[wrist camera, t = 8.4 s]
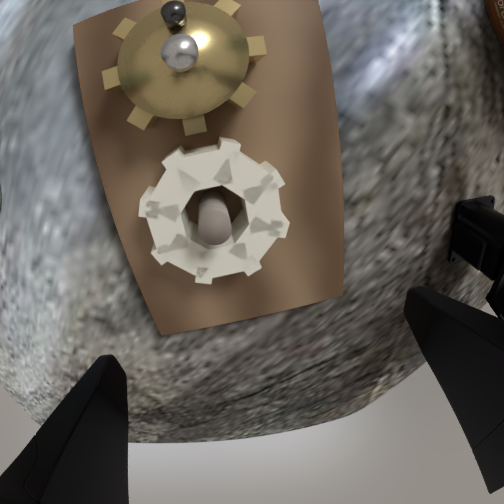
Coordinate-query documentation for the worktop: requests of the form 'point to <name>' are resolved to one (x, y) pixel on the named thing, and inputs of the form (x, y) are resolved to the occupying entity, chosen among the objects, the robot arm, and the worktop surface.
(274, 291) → the gear board
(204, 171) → the loose gear
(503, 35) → the food container
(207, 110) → the gear
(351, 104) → the worktop surface
